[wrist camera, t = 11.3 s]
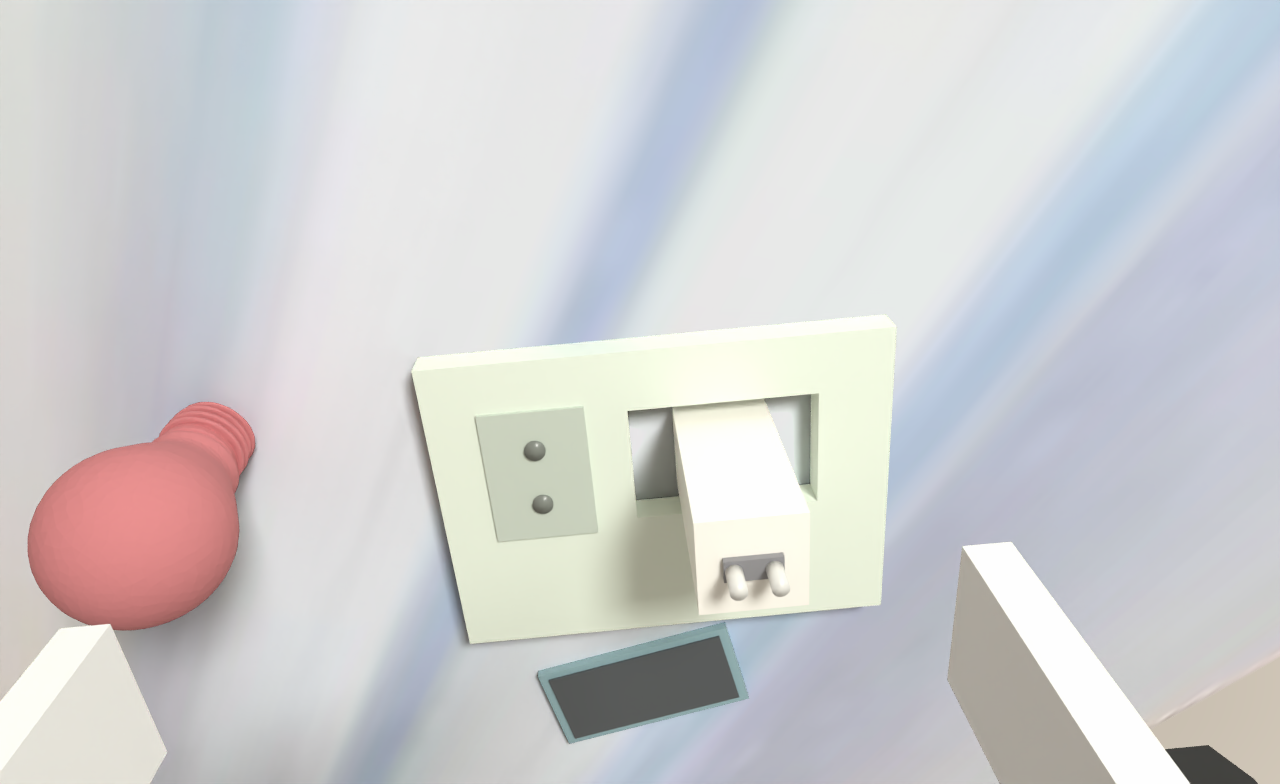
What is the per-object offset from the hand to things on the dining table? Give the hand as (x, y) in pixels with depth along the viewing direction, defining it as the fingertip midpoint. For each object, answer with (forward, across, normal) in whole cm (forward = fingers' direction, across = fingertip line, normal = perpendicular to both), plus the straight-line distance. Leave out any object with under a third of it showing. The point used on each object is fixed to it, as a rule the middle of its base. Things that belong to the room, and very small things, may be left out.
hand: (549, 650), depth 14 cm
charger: (+27, +6, -12) cm, 30 cm away
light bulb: (+27, -18, -9) cm, 34 cm away
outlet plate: (+27, +3, -14) cm, 30 cm away
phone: (+27, +1, -27) cm, 39 cm away
